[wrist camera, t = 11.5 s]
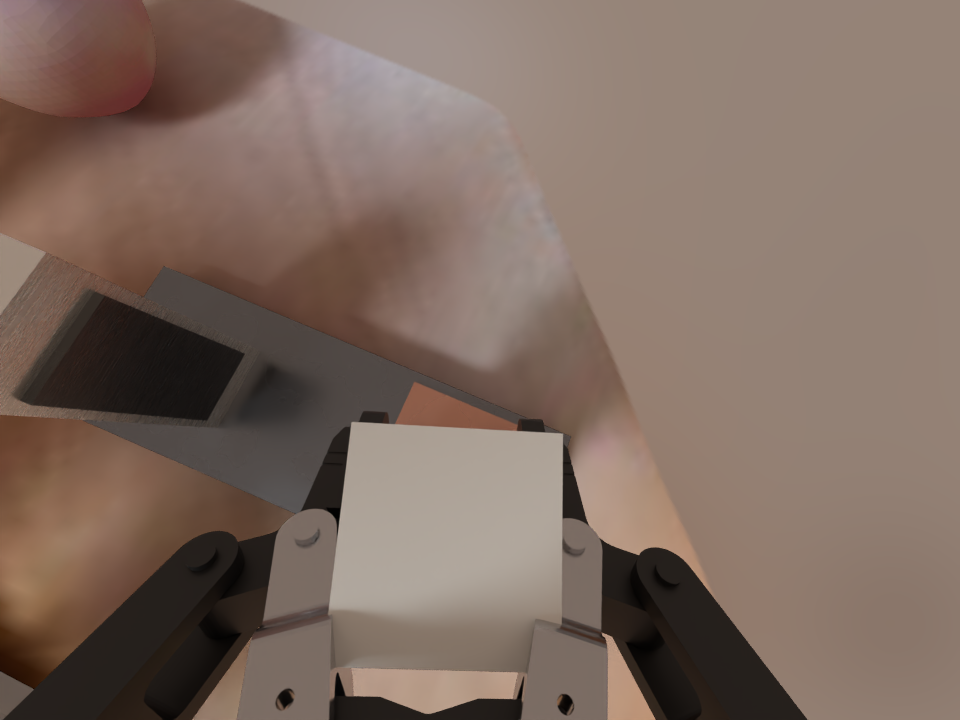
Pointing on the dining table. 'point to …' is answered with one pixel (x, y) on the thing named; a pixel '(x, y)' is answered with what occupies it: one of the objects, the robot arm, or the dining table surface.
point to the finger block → (446, 547)
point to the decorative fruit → (76, 55)
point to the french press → (11, 694)
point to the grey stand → (202, 374)
